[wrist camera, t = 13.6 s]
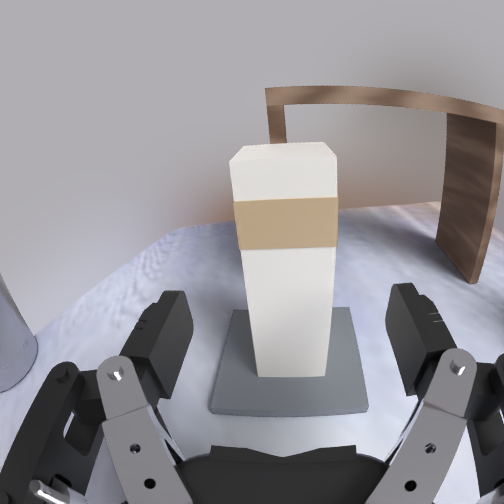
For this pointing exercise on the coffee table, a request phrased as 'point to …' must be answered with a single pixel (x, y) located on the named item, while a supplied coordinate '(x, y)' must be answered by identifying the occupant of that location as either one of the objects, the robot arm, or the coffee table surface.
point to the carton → (287, 252)
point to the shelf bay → (456, 166)
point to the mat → (290, 388)
